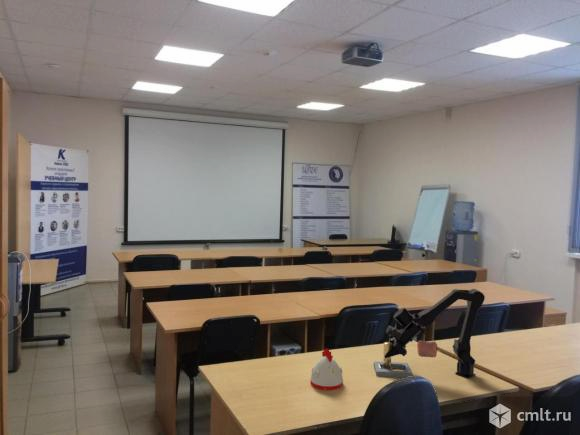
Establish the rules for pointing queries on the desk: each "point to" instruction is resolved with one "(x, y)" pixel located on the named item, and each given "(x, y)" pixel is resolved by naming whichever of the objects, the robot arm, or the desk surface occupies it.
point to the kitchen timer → (326, 373)
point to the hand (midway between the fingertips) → (384, 355)
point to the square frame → (393, 373)
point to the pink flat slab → (426, 348)
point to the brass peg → (387, 360)
